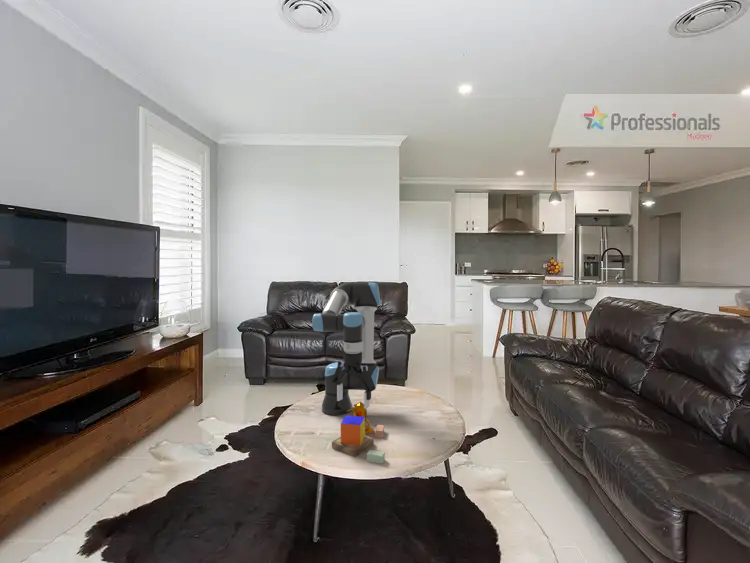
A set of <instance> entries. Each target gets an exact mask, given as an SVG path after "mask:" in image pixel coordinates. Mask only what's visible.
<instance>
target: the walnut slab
mask: <svg viewBox="0 0 750 563" xmlns="http://www.w3.org/2000/svg"><path fill="white" fill-rule="evenodd" d="M374 439H375V438H374V437H371V436H368V435H365V437H364V439H363V441H362V443H361V445H353V444H343V443H341V436H339V437H338V438H336V439H335V440H333V441H331V448H332V449H334V450H336V451H339V452H342V453H345V454H347V455H350V456H353V457H357V456H359V455H360V454H362V453H363V452H366V450H367V449H369V448H371V447H372V446H374V445H375V444H374V442H375V440H374Z"/></svg>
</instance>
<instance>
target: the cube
mask: <svg viewBox="0 0 750 563" xmlns="http://www.w3.org/2000/svg"><path fill="white" fill-rule="evenodd" d="M365 425H366V422H365V417H358V416H354V415H345V417H344V418H343V419H342V421H341V422H340V437H341V443H343V444H353V445H361V443H362V441H363V439H364V437H365V436H366V434H365Z"/></svg>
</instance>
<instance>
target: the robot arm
mask: <svg viewBox="0 0 750 563" xmlns="http://www.w3.org/2000/svg"><path fill="white" fill-rule="evenodd" d="M379 288H380V287H379V284H378V283H376V282H370V281H368V282H367V281H363V282H361V281H360V282H352V281H351V282H345V283H341V284H340V285H337V286H336V287H335V288H334V289H333V290H332V291H331V292H330V294H329V299H328V302H327V303H326V304H325V306H324V309H323V310H322V312H320V313H314V314H313V316H312V320H311V323H312V330H313V332H322V333H323V332H326V333H329V332H337V333H341V332H342V333H343V360H340V361H337V362H331V363H330V364H328V365H326V367H325V372H324V382H325V383H324V385H325V386H324V392H325V394H324V398H323V401H322V405H321V412H323V413H324V414H327V415H330V416H341V415H345V414H348V413H350V412H351V411H352V410H353V409H352V408H353V403H352V401H351V397H350V395H349V394H350V393H349V391H352V390H353V391H364V392H363V404H364V408H365V409H368V408H369V407H370V406H371V405H370V400H371V399H372V392H373V391H375V390H376V388H377V385H378V379H379V372H380V367H379V366H378V365H377V361H376V360H375V359H374V348H375V347H374V344H375V343H374V342H375V339H374V337H375V312H376V311H377V310H378V306H380V305H381V296H380V289H379ZM346 305H347V306H348V305H349V306H350V305H352V306H353V305H354V309H355V310H356V311H357V312H356V311H355V312H354V311H353V312H352V311H351V312H345V313H341V312H342V310H343V308H344V307H345V306H346ZM350 409H352V410H350ZM347 410H350V411H348V412H347Z"/></svg>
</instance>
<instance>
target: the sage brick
mask: <svg viewBox="0 0 750 563" xmlns="http://www.w3.org/2000/svg"><path fill="white" fill-rule="evenodd" d="M385 460H386V458H385V452H384V451H377V450H373V449H369V450H368V452H367V453H366V462H371V463H375V462H376V463H375V464H380V463H382V464H383V463H384V462H383V461H385Z"/></svg>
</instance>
